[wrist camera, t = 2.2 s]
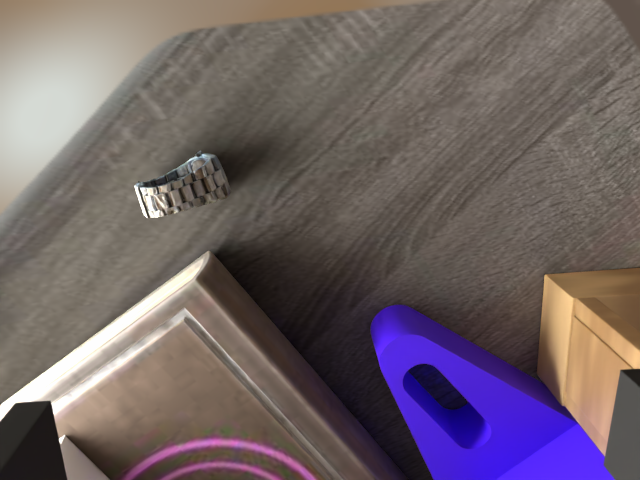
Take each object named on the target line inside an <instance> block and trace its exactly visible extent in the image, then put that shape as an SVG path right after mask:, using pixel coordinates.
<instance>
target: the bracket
mask: <svg viewBox="0 0 640 480" xmlns="http://www.w3.org/2000/svg"><path fill="white" fill-rule="evenodd" d="M371 336H372V340H373V344H374V347H375V351H376V354H377V358H378V362H379V365H380V369H381V372H382V374H383V376H384V378H385V380H386V382H387V384H388V386H389V388H390V390H391V392H392V394H393V396H394V398H395V400H396V402H397V405H398V407H399V409H400V411H401V413H402V415H403V417H404V419H405V421H406V423H407V425H408V427H409V429H410V431H411V433H412V436H413V438H414V440H415V442H416V444H417V446H418V448H419V450H420V452H421V454H422V456H423V458H424V460H425V462H426V464H427V467H428V469H429V471H430V473H431V475H432V477H433V479H434V480H615V479H614V478H613V477H612V475H611V474H610V473H609V472H608V470H607V469H606V468H605V466H604V459H605V456H604V455H603V454H602V453H601V451H600V450H599V449H598V447H597V446H596V445H595V444H594V442H593V441H592V440H591V439H590V437H589V436H588V435H587V433H586V432H585V431H584V430H583V428H582V427H581V426H580V425H579V423H578V422H577V421H576V419H575V418H574V417H573V416H572V414H571V413H570V412H569V411H568V409H567V408H566V407H565V406H561V404H560V403H559V402H558V400H557V399H556V398H555V397H554V395H553V394H552V393H551V391H550V390H549V389H548V388H547V386H546V385H545V384H544V383H542V382H540V381H538V380H537V379H535V378H533V377H531V376H530V375H528V374H526V373H524V372H523V371H521V370H519V369H517V368H516V367H514V366H512V365H510V364H509V363H507V362H505V361H503V360H502V359H500V358H498V357H496V356H495V355H493V354H491V353H489V352H488V351H486V350H484V349H482V348H481V347H479V346H477V345H475V344H474V343H472V342H470V341H468V340H467V339H465V338H463V337H461V336H460V335H458V334H456V333H454V332H453V331H451V330H449V329H447V328H446V327H444V326H442V325H440V324H439V323H437V322H435V321H433V320H432V319H430V318H428V317H426V316H425V315H423V314H421V313H419V312H418V311H416V310H414V309H412V308H411V307H408V306H405V305H392V306H389V307H386V308H384V309H382V310H381V311H380V312H379V313H378V314H377V315H376V316H375V317H374V319H373V321H372V324H371ZM418 364H430V365H433V366H435V367H436V368H437V369H438V370H439V371H440V372H441V373H442V374H443V375H444V376H445V377H446V378H447V379H448V380H449V381H450V383H451V384H452V385H453V386H454V387H455V388H456V389H457V390H458V391H459V392H460V393H461V394H462V395H463V396H464V398H465V399H466V400H467V401H468V403H467V404H466V405H465V406H463V407H461V408H459V409H455V410H449V409H446V408H444V407H442V406H441V405H440V404H439V403H438V402H437V401H436V400H435V399H434V398H433V397H432V396H431V395H430V394H429V393H428V392H427V391H426V389H425V388H424V387H423V386H422V385H421V384H420V383H419V382H418V381H417V380H416V379H415V378H414V377H413V376H412V375H411V374H410V373H409V372H408V370H409V369H410V368H411V367H413V366H415V365H418Z"/></svg>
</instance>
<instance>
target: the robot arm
mask: <svg viewBox="0 0 640 480" xmlns="http://www.w3.org/2000/svg"><path fill="white" fill-rule="evenodd" d="M604 466H605V468H606V469H607V470H608V472H609V473H610V474H611V475H612V477H613V478H614V479H615V480H640V369H624V370H620V375H619V381H618V386H617V392H616V397H615V403H614V409H613V414H612V420H611V425H610V431H609V437H608V442H607V448H606V453H605V459H604ZM0 480H67V475H66V470H65V465H64V461H63V456H62V451H61V447H60V442H59V437H58V433H57V428H56V423H55V418H54V414H53V409H52V404H51V401H33V402H15V404H14V405H13V406H12V407H11V409H10V410H9V411H8V412H7V414H6V415H5V416H4V417H3V418H2V420H1V421H0Z"/></svg>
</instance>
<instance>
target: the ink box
mask: <svg viewBox="0 0 640 480" xmlns="http://www.w3.org/2000/svg"><path fill="white" fill-rule="evenodd" d="M59 442H60V447H61V451H62V456H63V461H64V465H65V470H66V475H67V480H110V479H109V478H108V477H107V476H106V475H105V474H104V473H103V472H102V471H101V470H100V469H99V468H98V467H97V466H96V465H95V464H94V463H93V462H92V461H91V460H90V459H89V458H88V457H87V456H86V455H85V454H84V453H82V452H81V451H80V450H79V449H78V448H77V447H76V446H75V445H74V444H73V443H72V442H71V441H70V440H69V439H68V438H67V437H66V436H63V437H61V438H60V439H59Z"/></svg>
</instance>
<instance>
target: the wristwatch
mask: <svg viewBox="0 0 640 480" xmlns="http://www.w3.org/2000/svg"><path fill="white" fill-rule="evenodd" d="M135 190H136V193H137V196H138V199H139V202H140V205H141V208H142V211H143V214H144V215H145V216H146V218H152V217H161V216H165V215H169V214H173V213H177V212H181V211H185V210H188V209H191V208H195V207H199V206H202V205H205V204H210V203H214V202H216V201H217V200H222V199H225V198H227V196H228V195H229V194H230V193H231V190H230V187H229V184H228V181H227V178H226V175H225V173H224V170H223V168H222V166H221V164H220V162H219V160H218V158H217V156H216V155H213V154H209V153H204V154H203V153H202V152H201V151H199V152H197V153H196V156H195V157H193V158H191V159H190V160H188V162H186V163H185V164H183V165H181V166H179V167H178V168H177V169H173V170H172V171H170V172H169V173H167V174H166V175H164V176H161V177H158V178H157V179H153V180H149V181H147V182H139V181H138V183H137V184H136V185H135Z"/></svg>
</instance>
